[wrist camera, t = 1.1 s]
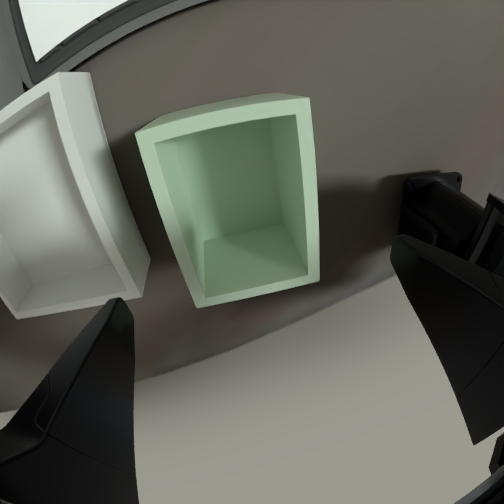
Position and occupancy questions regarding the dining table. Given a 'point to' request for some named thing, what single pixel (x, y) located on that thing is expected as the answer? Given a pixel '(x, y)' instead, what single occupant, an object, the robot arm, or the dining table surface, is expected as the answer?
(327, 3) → the dining table surface
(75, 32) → the laptop
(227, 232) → the small crate
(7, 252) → the big crate
